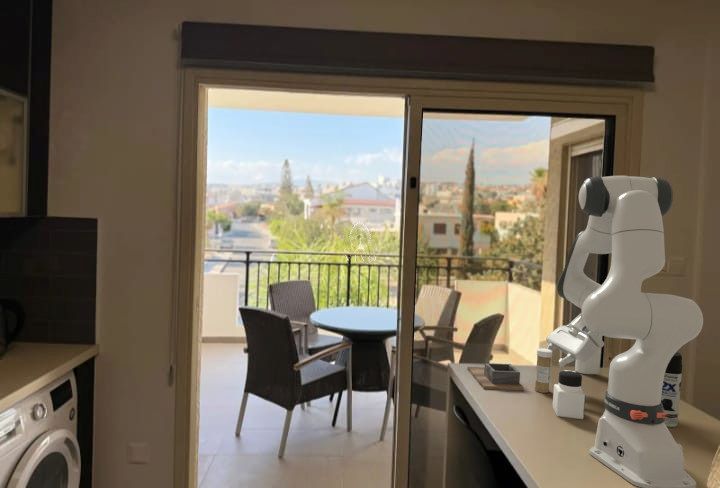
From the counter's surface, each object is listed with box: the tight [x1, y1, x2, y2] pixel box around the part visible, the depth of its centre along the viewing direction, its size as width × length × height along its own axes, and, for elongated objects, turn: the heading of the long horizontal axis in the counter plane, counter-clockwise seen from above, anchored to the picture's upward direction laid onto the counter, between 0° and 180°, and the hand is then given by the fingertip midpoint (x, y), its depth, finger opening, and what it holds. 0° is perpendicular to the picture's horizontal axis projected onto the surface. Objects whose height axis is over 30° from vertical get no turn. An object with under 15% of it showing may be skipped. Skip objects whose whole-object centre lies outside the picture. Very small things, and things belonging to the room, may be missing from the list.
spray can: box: [661, 351, 683, 429], centre depth 140 cm, size 7×7×20 cm
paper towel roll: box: [574, 335, 603, 375], centre depth 183 cm, size 7×6×21 cm
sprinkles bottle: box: [534, 347, 553, 394], centre depth 161 cm, size 5×5×14 cm
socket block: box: [466, 362, 525, 391], centre depth 171 cm, size 20×13×5 cm, turn 3°
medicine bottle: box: [552, 369, 586, 420], centre depth 143 cm, size 7×7×12 cm
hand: (552, 360), depth 162 cm, fingers open, 8 cm apart
